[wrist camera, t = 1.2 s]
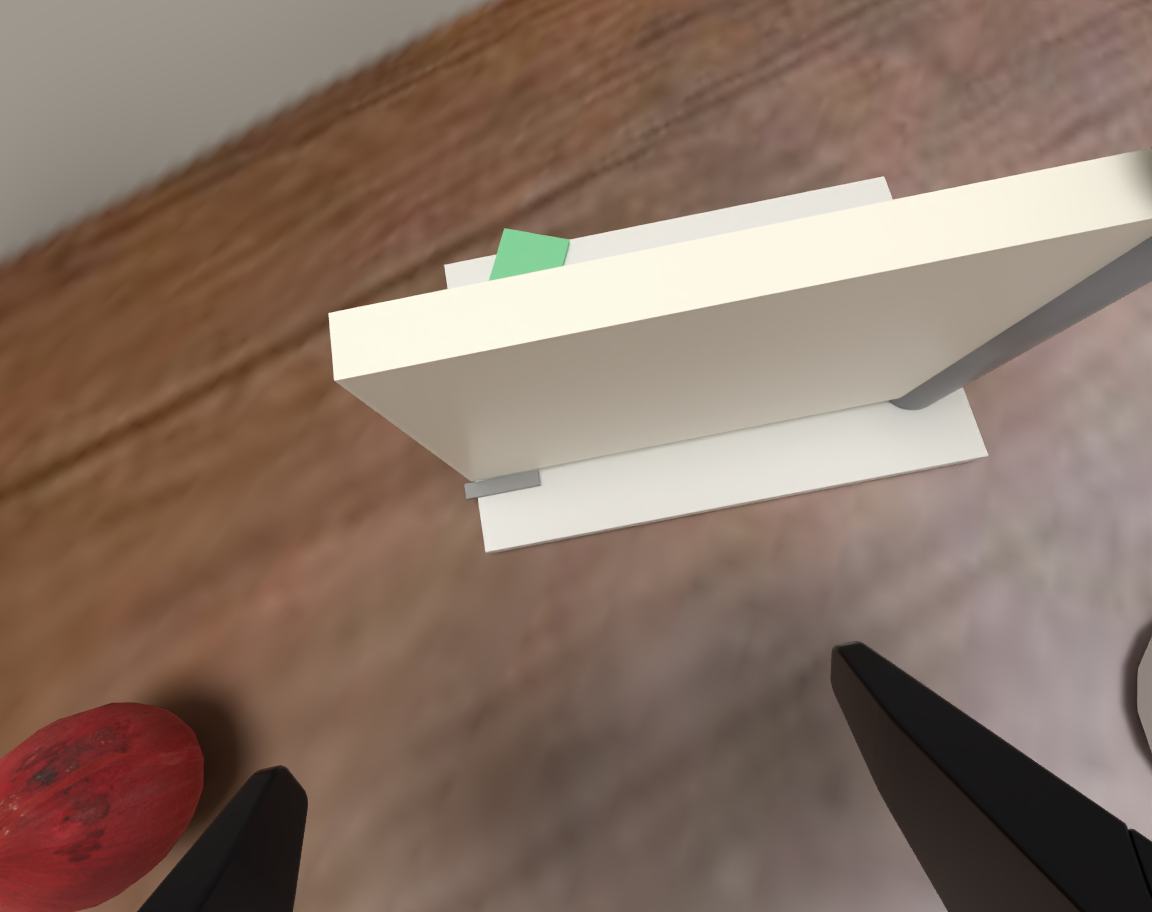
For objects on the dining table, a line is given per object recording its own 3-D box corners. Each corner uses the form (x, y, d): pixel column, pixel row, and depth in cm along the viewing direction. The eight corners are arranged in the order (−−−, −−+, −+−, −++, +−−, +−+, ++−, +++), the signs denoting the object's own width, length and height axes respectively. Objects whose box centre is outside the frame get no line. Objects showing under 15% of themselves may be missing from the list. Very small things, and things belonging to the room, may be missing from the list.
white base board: (866, 173, 26) (880, 152, 24) (971, 461, 22) (993, 453, 21) (439, 259, 26) (430, 243, 25) (481, 555, 23) (473, 553, 21)
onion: (175, 657, 23) (-54, 695, 15) (281, 740, 22) (96, 828, 14) (80, 789, 22) (-218, 904, 14) (185, 882, 21) (-72, 1062, 13)
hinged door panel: (942, 327, 23) (1546, -141, 8) (976, 418, 22) (1731, 77, 7) (466, 420, 23) (214, 135, 8) (479, 514, 22) (221, 378, 7)
